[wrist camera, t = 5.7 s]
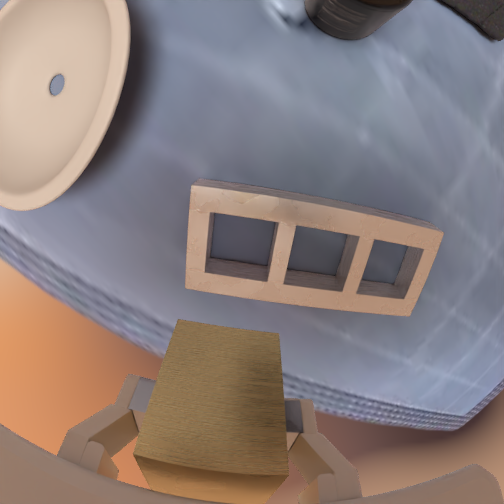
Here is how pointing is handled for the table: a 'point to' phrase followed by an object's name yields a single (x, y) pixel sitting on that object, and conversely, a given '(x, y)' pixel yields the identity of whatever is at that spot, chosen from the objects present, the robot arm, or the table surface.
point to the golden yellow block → (216, 417)
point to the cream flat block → (287, 217)
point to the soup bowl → (64, 104)
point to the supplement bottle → (352, 15)
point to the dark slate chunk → (483, 14)
